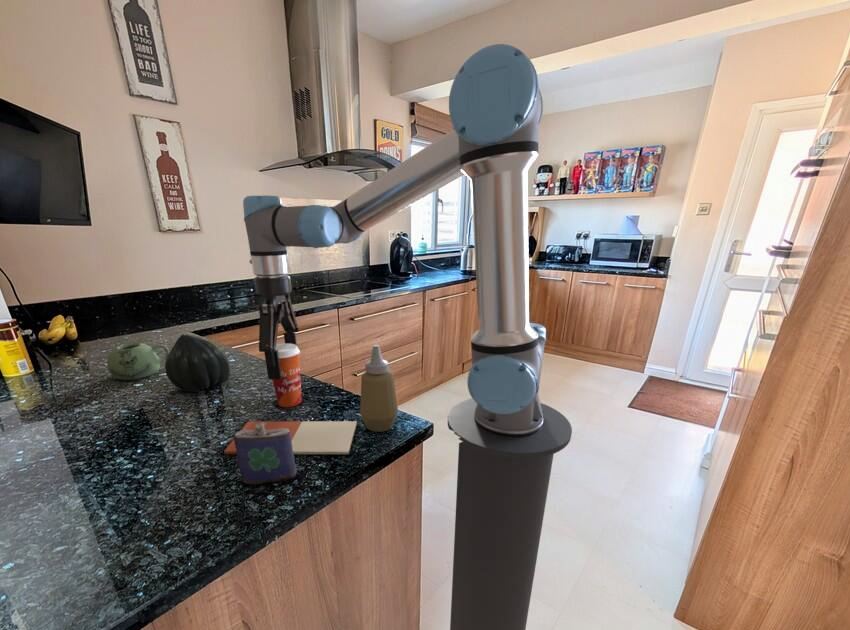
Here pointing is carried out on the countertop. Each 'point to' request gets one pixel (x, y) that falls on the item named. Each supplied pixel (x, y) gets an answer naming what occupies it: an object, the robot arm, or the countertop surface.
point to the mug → (134, 361)
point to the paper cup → (288, 376)
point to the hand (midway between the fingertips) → (284, 368)
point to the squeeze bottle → (378, 394)
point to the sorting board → (311, 435)
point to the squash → (196, 364)
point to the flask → (265, 454)
